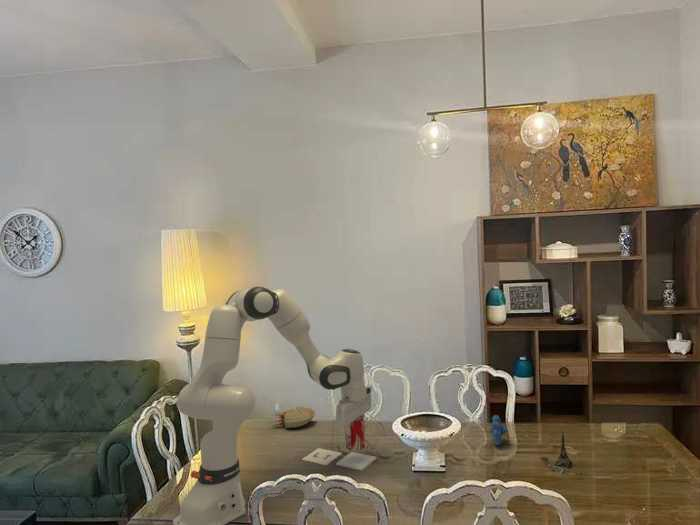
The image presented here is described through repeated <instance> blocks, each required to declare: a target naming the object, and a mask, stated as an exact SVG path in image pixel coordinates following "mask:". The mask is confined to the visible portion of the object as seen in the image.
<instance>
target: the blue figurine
mask: <svg viewBox="0 0 700 525" xmlns="http://www.w3.org/2000/svg"><path fill="white" fill-rule="evenodd" d="M501 420H502V419H501V417H500V416H499V415H497V414H495V415H493V416H492V418H491V421H492V423H491V426H492V427H491V428H490V429H489V430H490V432H491V434H492V435H493V436H492V442H493V444H494V445H495V446H500V445H501V443H502V437H503V435H506V434H507V433H508V432H509V430H508V428H507V427H506V426H503V424H502V423H501Z"/></svg>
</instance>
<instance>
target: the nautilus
mask: <svg viewBox="0 0 700 525" xmlns="http://www.w3.org/2000/svg"><path fill="white" fill-rule="evenodd" d="M315 415H316V412H315V410H314V409H313V408H310V407H305V406H304V407H303V406H302V407H301V406H299V407H295V408H292V409H289V410H287V411H284V412H278V413H274V414H271V416H273V417H276V419H278V420H275V421H274V423H276V424H272V425H270V424H271V423H273V421H271V422H269V421H268V423H269V427H272V428H273V429H274V428H279V427H281V428H282V429H283V428H285V429H288V428H289V429H292V428H293V429H294V428H298V427H302V426H305V425H306V424H308V423H309V422H311V421H312V420H313V418H314V417H315ZM268 420H272V417H269V418H268Z"/></svg>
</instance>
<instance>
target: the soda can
mask: <svg viewBox="0 0 700 525" xmlns="http://www.w3.org/2000/svg"><path fill="white" fill-rule="evenodd" d="M350 429H352V434H350V435H347V434H346V430H345V429H344V430H345V446H346V449H347V450H349V451H350V452H359V451H362V450H363V449H364V448H365V445H366V438H365V437H366V436H365V419H364V420H363V419H362V416H360V417H359V418H357V419H356V420H354V421H353V422H351V423H350Z"/></svg>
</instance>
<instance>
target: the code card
mask: <svg viewBox="0 0 700 525" xmlns="http://www.w3.org/2000/svg"><path fill="white" fill-rule="evenodd" d="M342 454H343V453H342V452H339V451H336V450H335V451H333V450H331V449H330V450H329V449H324V448H320V447H318V448H316V449H315V450H313V451H312V452H310V453H309V454H307V455H306V456H304V457H303V458H302V459H301V461H304V462H305V461H306V462H309V463H314V464H319V465H322V466H328V465H329V464H330V463H332V462H333V461H335V460H336V459H337V458H339V457H340V456H341V455H342Z"/></svg>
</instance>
